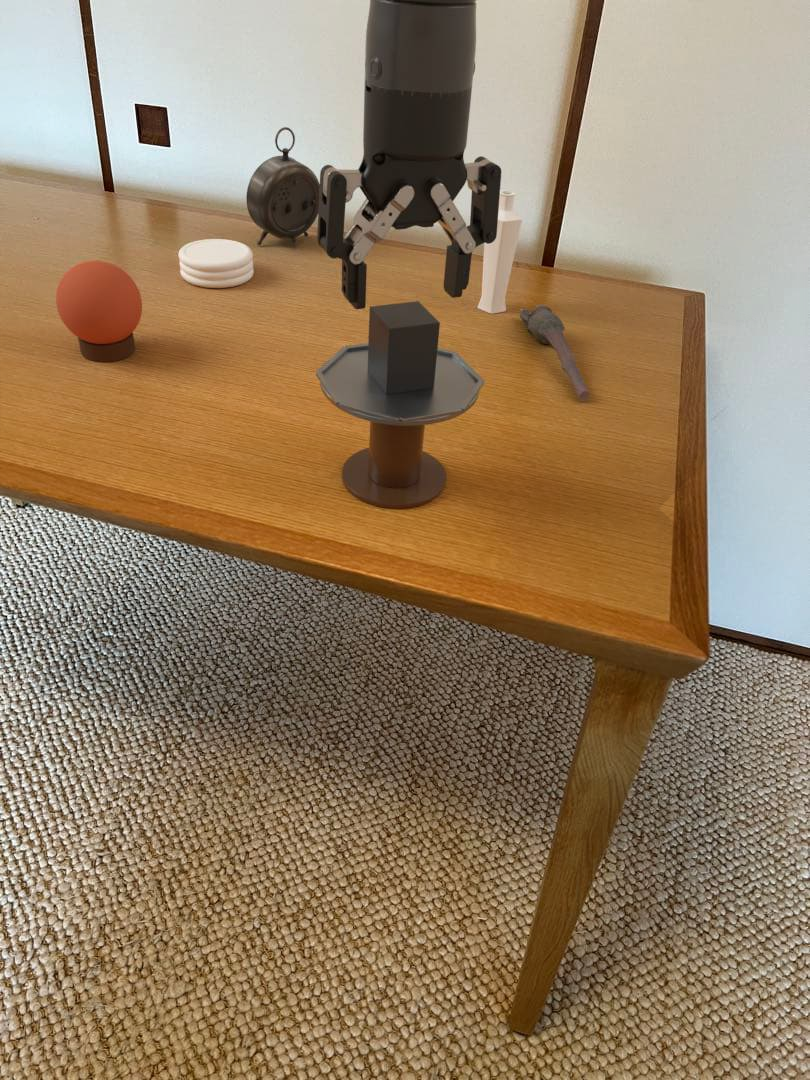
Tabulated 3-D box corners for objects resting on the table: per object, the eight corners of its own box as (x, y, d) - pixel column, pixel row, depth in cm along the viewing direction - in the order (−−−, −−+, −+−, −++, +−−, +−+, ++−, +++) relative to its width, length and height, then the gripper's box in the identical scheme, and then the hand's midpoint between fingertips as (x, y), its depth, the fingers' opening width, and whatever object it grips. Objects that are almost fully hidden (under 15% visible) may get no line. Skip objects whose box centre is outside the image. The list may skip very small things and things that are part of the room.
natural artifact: (529, 326, 109) (549, 302, 108) (584, 405, 92) (610, 378, 90) (508, 310, 107) (529, 285, 106) (562, 388, 90) (587, 360, 88)
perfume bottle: (502, 317, 108) (519, 200, 99) (471, 310, 109) (485, 194, 100) (513, 305, 111) (531, 191, 102) (483, 298, 113) (498, 185, 103)
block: (386, 395, 69) (389, 328, 65) (367, 370, 72) (369, 306, 68) (434, 387, 70) (440, 322, 67) (413, 364, 74) (418, 300, 70)
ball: (71, 373, 90) (51, 283, 83) (63, 338, 96) (44, 252, 89) (154, 362, 93) (141, 275, 86) (142, 329, 99) (129, 245, 92)
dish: (349, 535, 71) (352, 429, 64) (302, 451, 80) (299, 350, 74) (492, 505, 75) (508, 403, 68) (430, 429, 85) (439, 332, 78)
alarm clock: (307, 231, 129) (305, 119, 119) (327, 242, 126) (327, 128, 116) (247, 244, 123) (240, 127, 113) (266, 255, 120) (260, 136, 110)
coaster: (268, 279, 113) (267, 254, 111) (205, 295, 108) (203, 269, 106) (228, 257, 119) (226, 232, 116) (167, 271, 113) (164, 246, 111)
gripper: (485, 64, 61) (463, 274, 72) (304, 66, 57) (308, 290, 67) (534, 85, 56) (503, 308, 66) (339, 89, 51) (337, 329, 62)
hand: (405, 299), depth 67 cm, fingers open, 8 cm apart
